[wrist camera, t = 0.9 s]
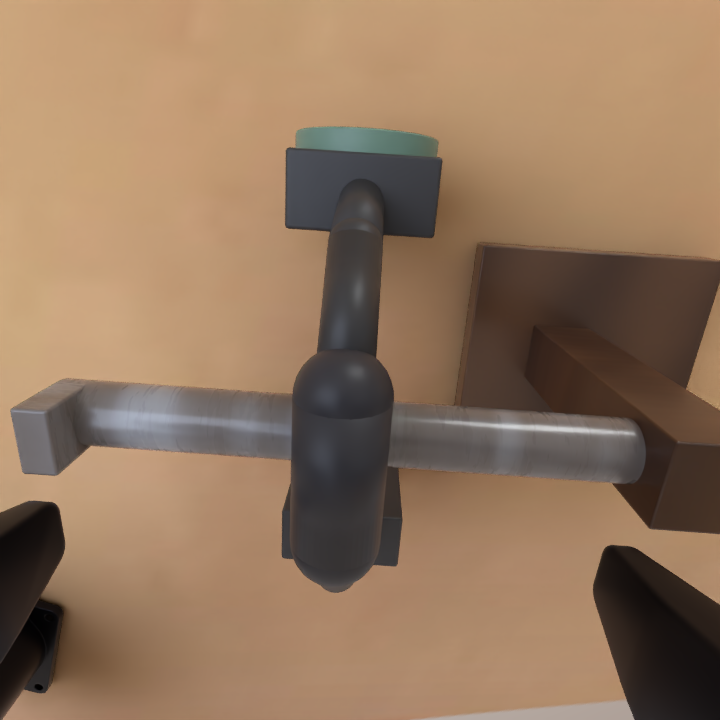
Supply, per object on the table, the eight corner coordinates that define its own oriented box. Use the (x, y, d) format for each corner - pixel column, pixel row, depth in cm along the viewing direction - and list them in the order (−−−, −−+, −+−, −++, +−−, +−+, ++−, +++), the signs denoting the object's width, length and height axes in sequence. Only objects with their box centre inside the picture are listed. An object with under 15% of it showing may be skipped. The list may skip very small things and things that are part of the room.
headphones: (429, 149, 16) (508, 82, 7) (393, 498, 21) (409, 757, 11) (307, 141, 16) (209, 62, 7) (299, 491, 21) (234, 743, 11)
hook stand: (705, 257, 19) (1085, 328, 9) (651, 437, 21) (894, 651, 11) (187, 222, 19) (-24, 252, 9) (198, 405, 21) (44, 588, 11)
